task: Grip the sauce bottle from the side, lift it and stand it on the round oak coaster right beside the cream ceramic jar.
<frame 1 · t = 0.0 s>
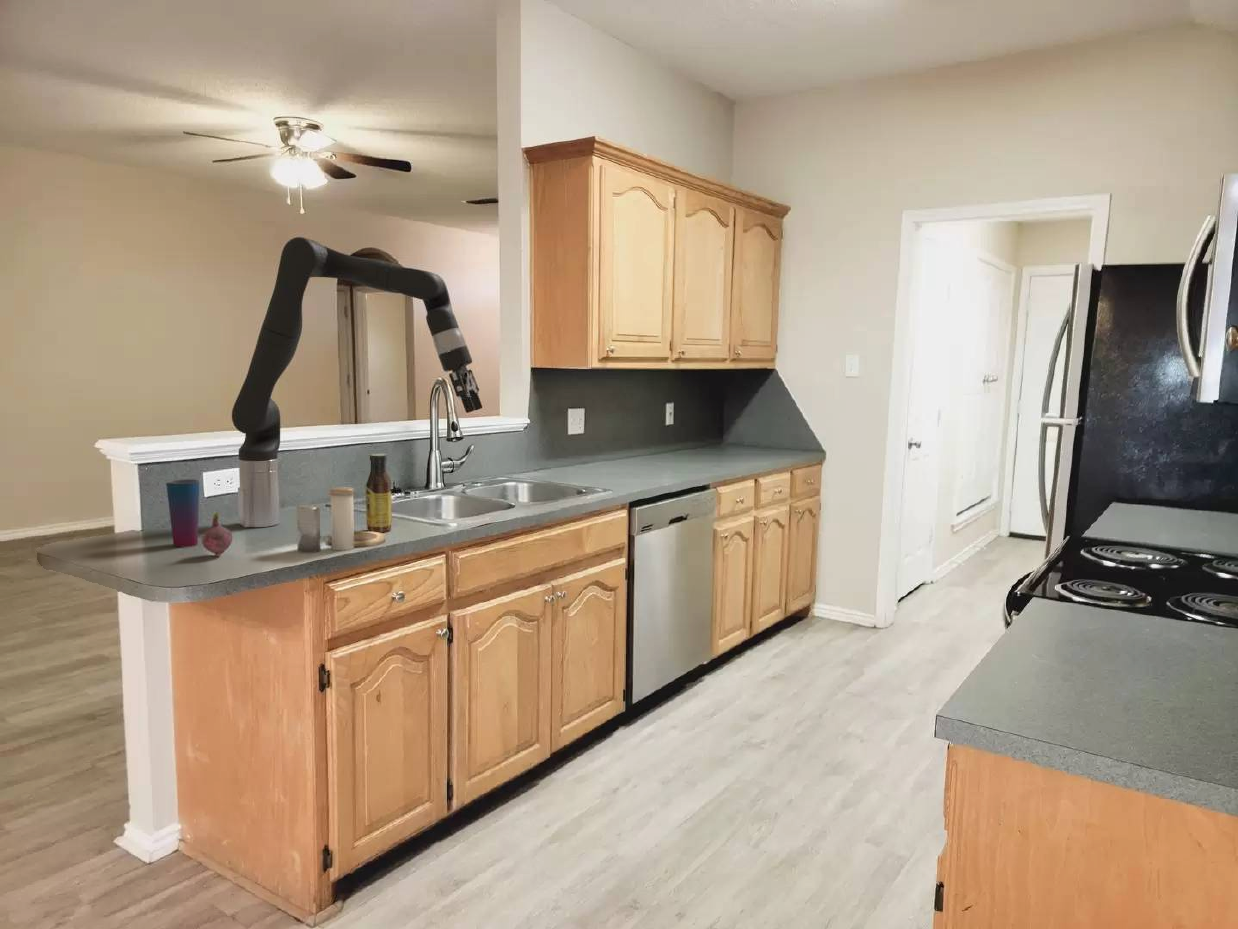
hand: (474, 410, 211), 31 cm above the countertop, tool tilted 20°, fingers open, 8 cm apart
spice tin: (309, 550, 193), on the countertop
cup: (185, 545, 195), on the countertop
sauce bottle: (379, 531, 215), on the countertop
oak coaster: (357, 541, 203), on the countertop
vegetable: (217, 557, 185), on the countertop
cream jar: (343, 548, 195), on the countertop
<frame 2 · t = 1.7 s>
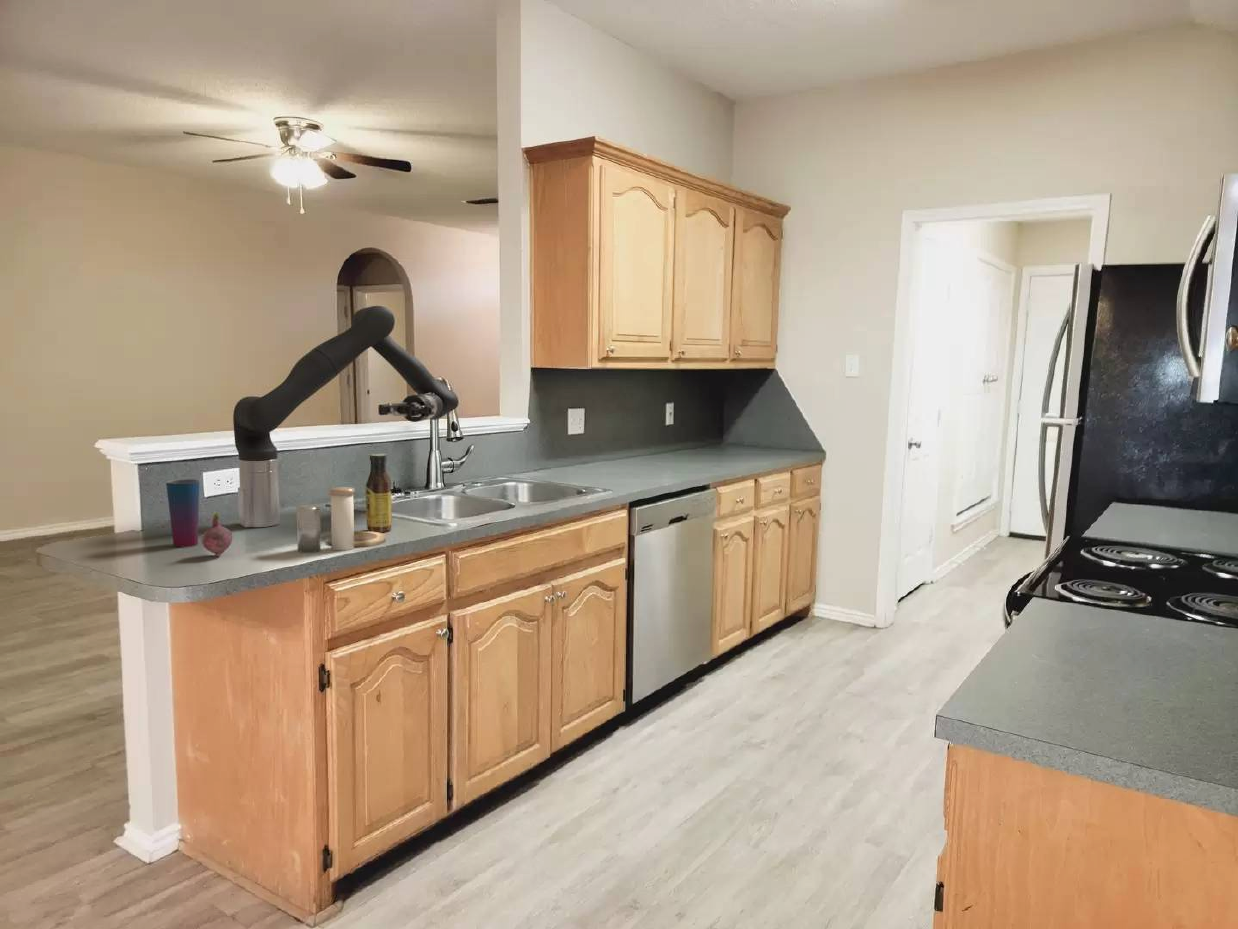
hand: (395, 411, 221), 30 cm above the countertop, tool horizontal, fingers open, 8 cm apart
nothing on the countertop moved.
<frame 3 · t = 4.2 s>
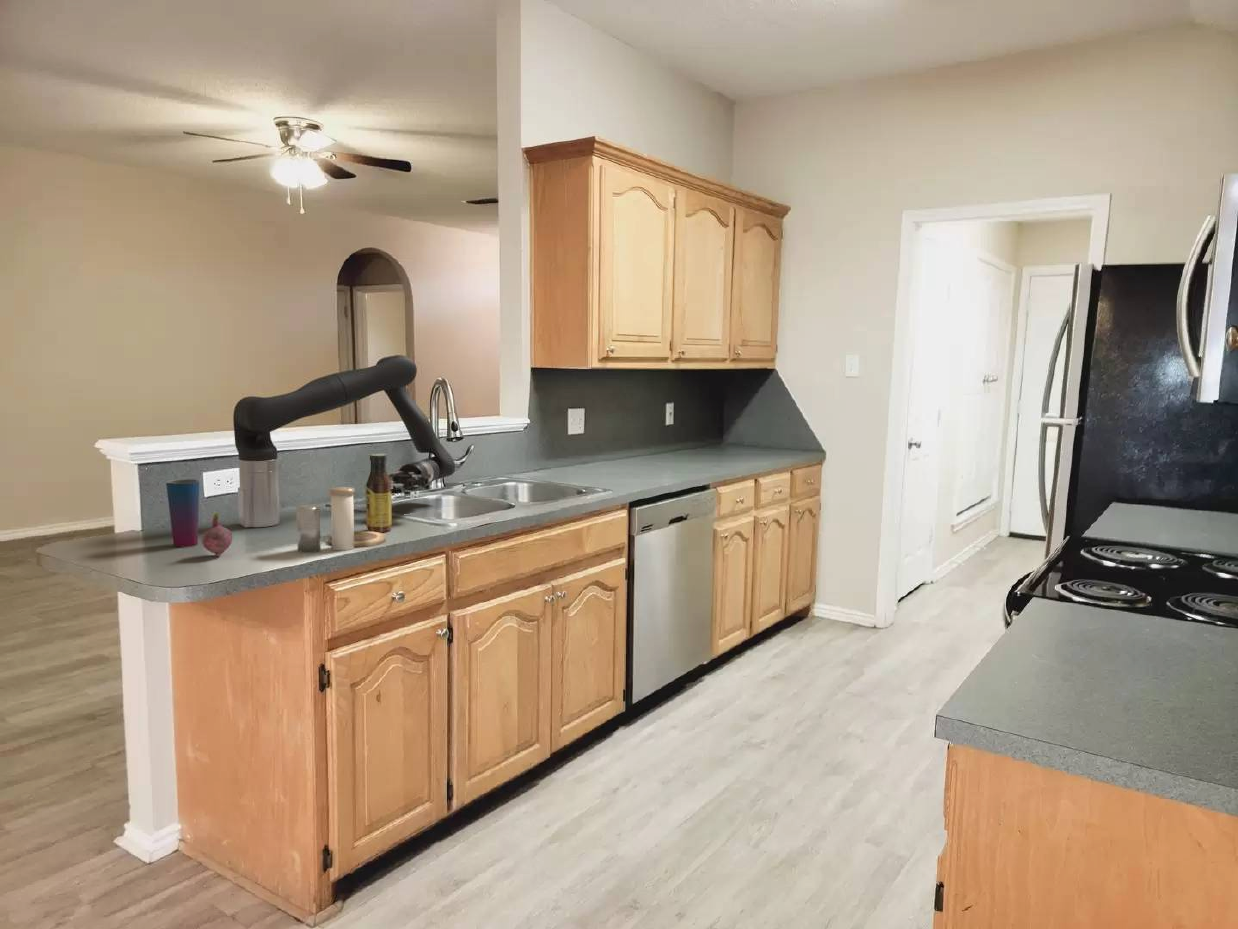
hand: (392, 483, 222), 11 cm above the countertop, tool horizontal, fingers open, 8 cm apart
nothing on the countertop moved.
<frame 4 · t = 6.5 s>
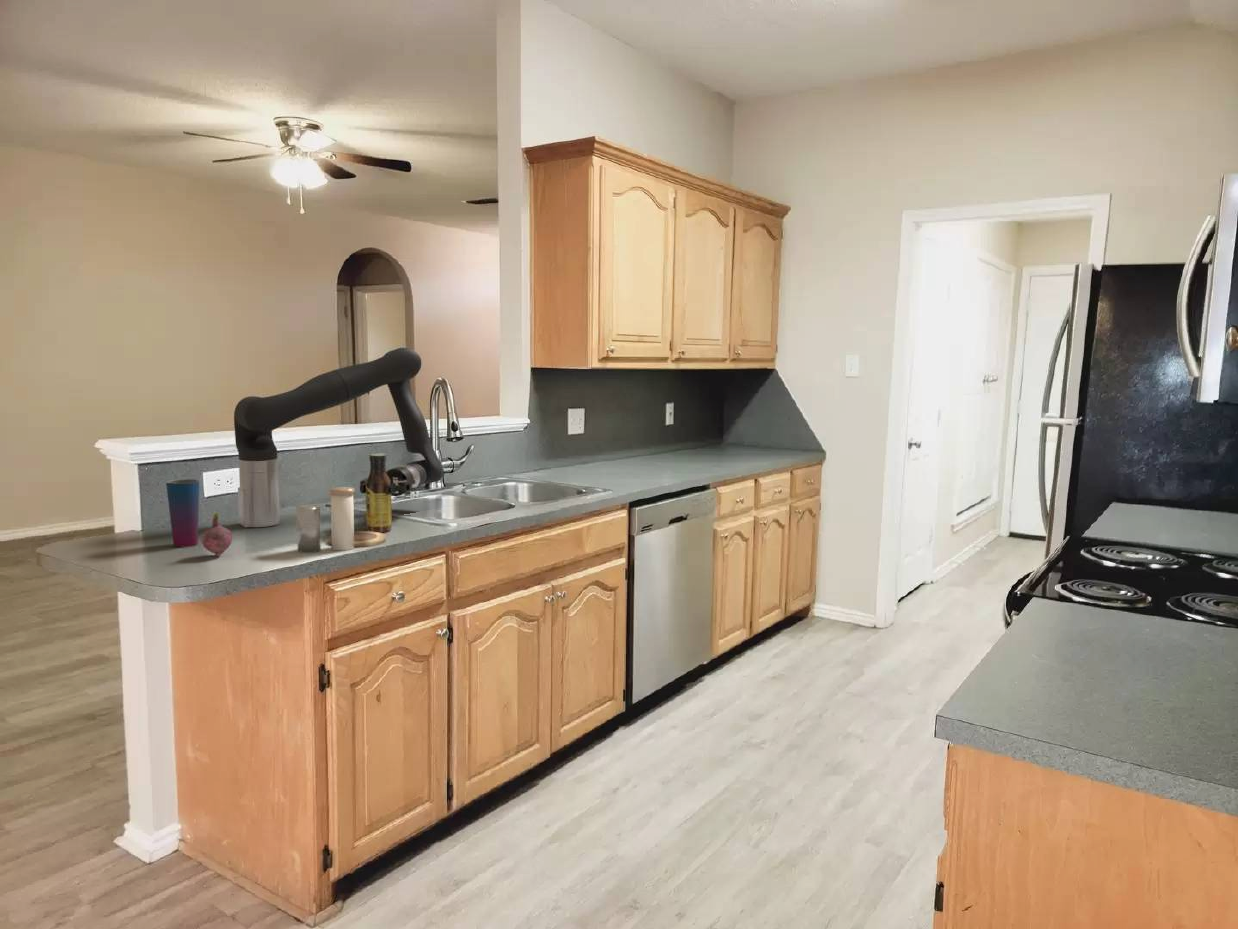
hand: (374, 489, 211), 11 cm above the countertop, tool horizontal, fingers closed on sauce bottle, 6 cm apart
sauce bottle: (379, 531, 215), on the countertop, touching gripper
everything else where it was.
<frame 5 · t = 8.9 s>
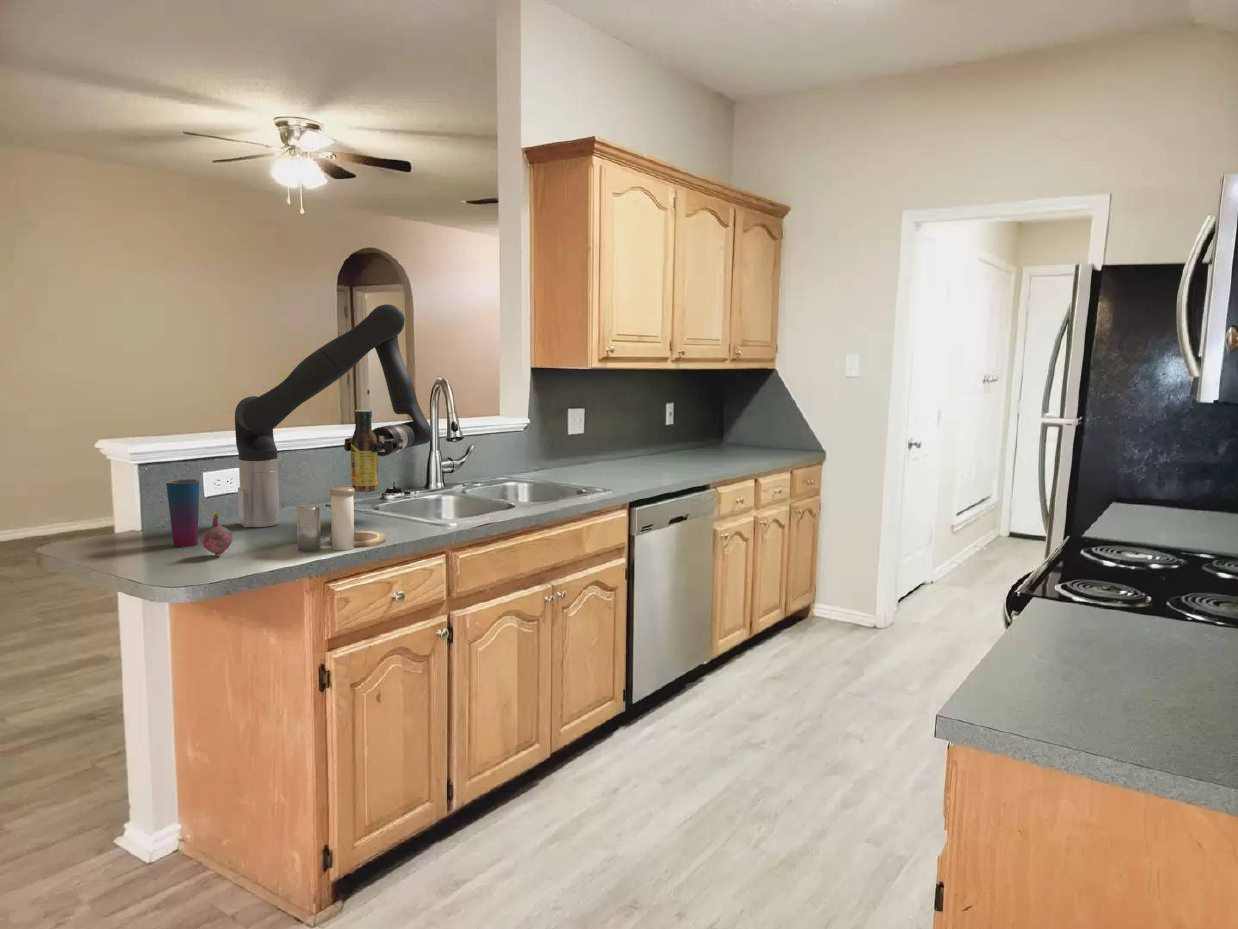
hand: (359, 447, 201), 23 cm above the countertop, tool horizontal, fingers closed on sauce bottle, 6 cm apart
sauce bottle: (364, 491, 205), point 11 cm above the countertop, touching gripper
everything else where it was.
when the fingers open (13 cm above the countertop, at t = 11.6 s): sauce bottle drops 1 cm, resting on oak coaster.
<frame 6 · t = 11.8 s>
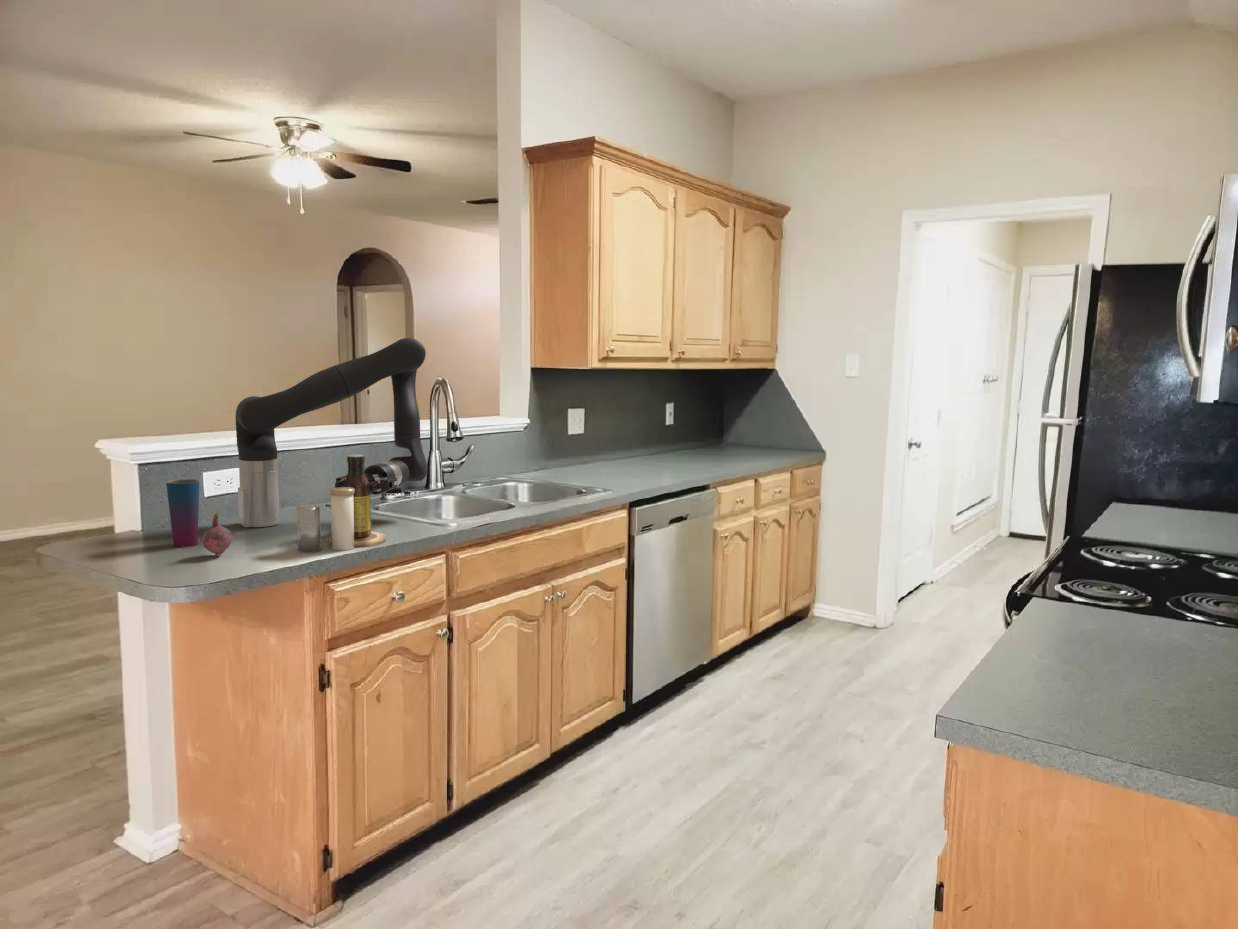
hand: (352, 487, 199), 13 cm above the countertop, tool horizontal, fingers open, 7 cm apart
sauce bottle: (357, 537, 203), point 1 cm above the countertop, touching oak coaster
everything else where it was.
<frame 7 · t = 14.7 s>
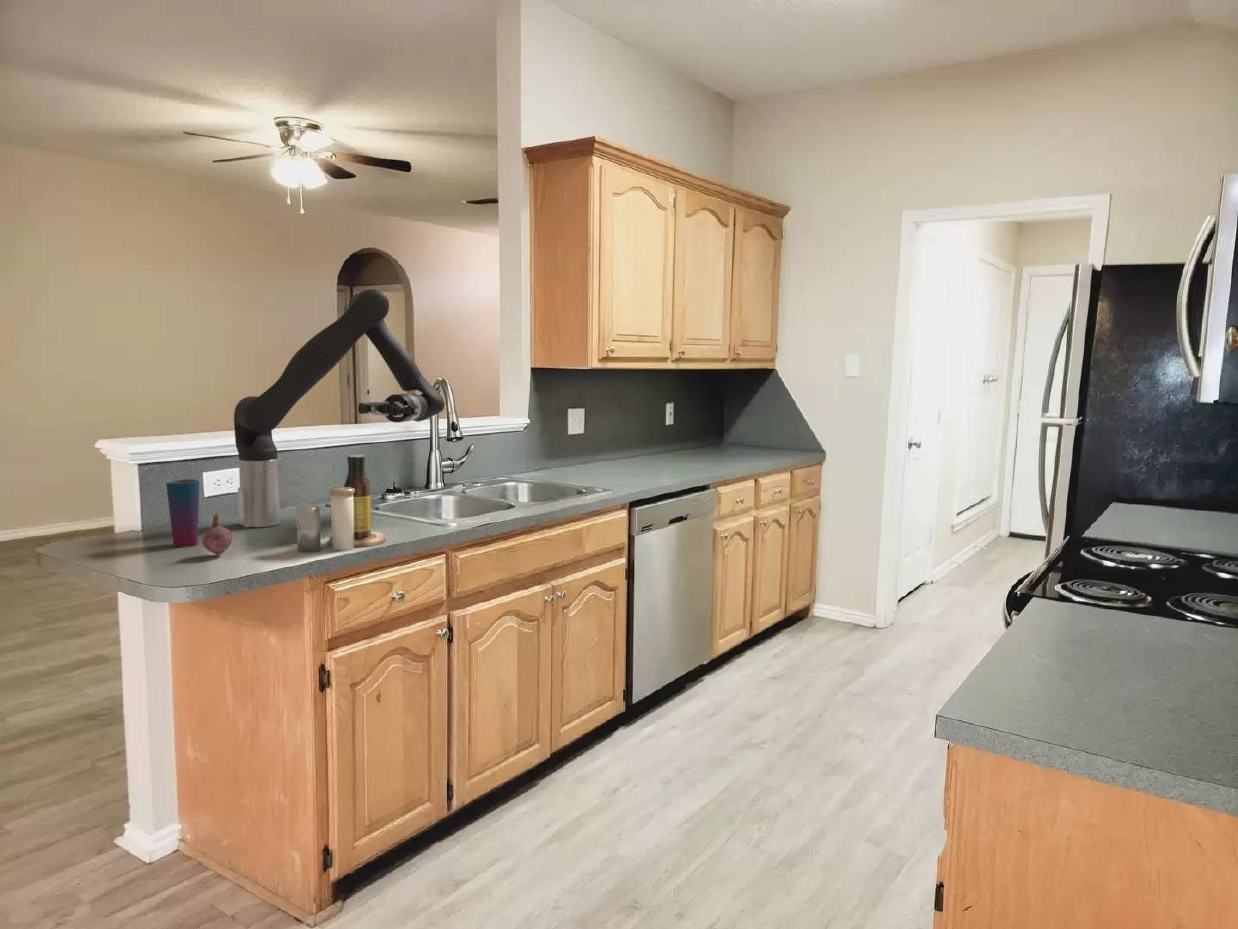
hand: (376, 410, 209), 31 cm above the countertop, tool horizontal, fingers open, 8 cm apart
nothing on the countertop moved.
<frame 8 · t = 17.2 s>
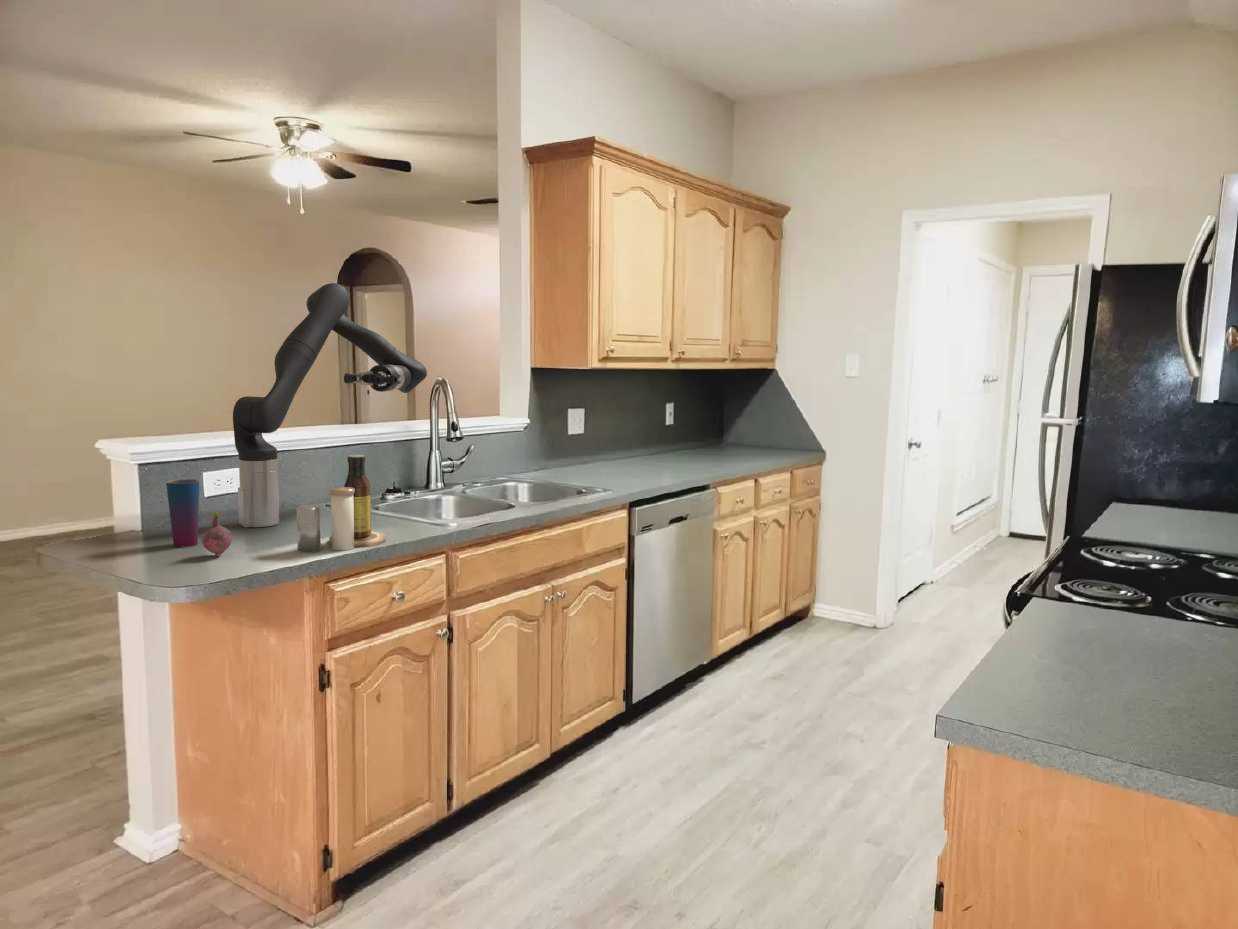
hand: (360, 379, 222), 38 cm above the countertop, tool horizontal, fingers open, 8 cm apart
nothing on the countertop moved.
at the end: sauce bottle inside the target area (0.2 cm from its centre), point 0.9 cm above the countertop; sauce bottle tilted 0°; the gripper is holding nothing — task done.
